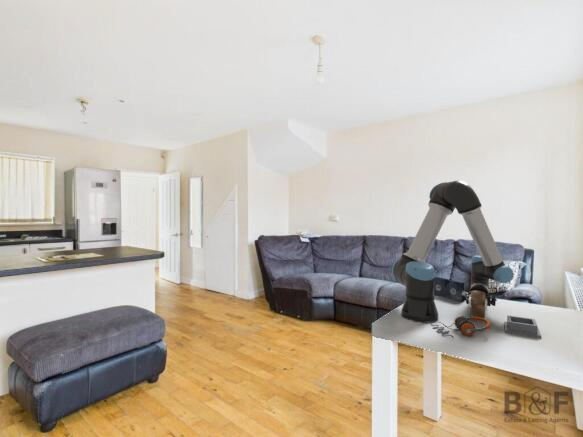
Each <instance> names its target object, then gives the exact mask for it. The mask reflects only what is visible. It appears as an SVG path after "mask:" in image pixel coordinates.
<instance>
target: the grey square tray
mask: <svg viewBox="0 0 583 437" xmlns="http://www.w3.org/2000/svg"><path fill="white" fill-rule="evenodd" d="M506 316H507V317H506V321H505V320H504V321H503V325H504V332H505V333H507V334H513V335H518V336H519V335H520V336H525V337H531V338H535V339H536V338H537V339H542V334H541V332H540V329H539V326H538V324H537V321H536V319H535V318H529V317H521V316H517V315H516V316H515V315H506Z"/></svg>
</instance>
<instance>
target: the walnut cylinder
mask: <svg viewBox="0 0 583 437" xmlns="http://www.w3.org/2000/svg"><path fill="white" fill-rule="evenodd" d="M485 315H486V309H485V292H482V291H471V307H470V317H481V318H485V317H486V316H485ZM485 319H486V318H485Z"/></svg>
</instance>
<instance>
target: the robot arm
mask: <svg viewBox="0 0 583 437" xmlns="http://www.w3.org/2000/svg"><path fill="white" fill-rule="evenodd" d="M428 197H429V201H428V204H427V205H428V208H429V209H428V211H427V213H426V215H425V216H424V219H423V220H422V223H421V225H420V226H419V228H418V231H417V233H416V235H415V236H414V238H413V240H412V242H411V244H410V246H409V248H408V250H407V252H404V253H402V255H401V256H400V259H398V260H396V261H395V262H394V263H393V265H392V267H391V274H392V277H393V279H394V280H395V281H396V282H397V283H398V284H400V285H402V286H404V287H405V300H404V301H403V304H402V307H401V316H402V317H403V318H404V319H406V320H410V321H413V322H418V323H419V322H420V323H433V322H438V320H439V310H438V309H437V306H436V302H435V295H434V277H435V276H436V273H435V268H434V266H433V265H432V264H431V263H428V262H426V259H427V257H428V254H429V253H430V251H431V249H432V248H433V247H432V246H433V244H434V242H435V241H436V239H437V237H438V236H439V233H440V231H441V229H442V227H443V225H444V223H445V221H446V219H447V217H448V216H450V215H453V213H454V211H455V209H456V211H457V214H458V215H461V216H462V218H463V220H464V222H465V225H466V228H467V230H468V232H469V234H470V236H471V238H472V240H473V243H474V245H475V247H476V250H477V251H478V252H477V253H478V255H473V256H472V257H471V269H470V270H471V271H470V272H471V276H470V289H469V291H468V292H467V291H465V290H464V291H462V301H464V302H465V304H466V305H468V307H469V308H471V291H482V292H485V311H486V310H488V307H491V306H493V307H496V306H497V305H496V303H497V296H498V295H497V294H490V293H489V291H490V280H492V281H495V282H497V283H500V284H508V283H510V282H511V281H513V278H514V270H513V269H512V268H511V267H510V266H507V265H506V264H505V262H504V259H503V258H502V255H501V254H500V251H499V249H498V246H497V244H496V242H495V240H494V237H493V235H492V232H491V229H490V228H489V226H488V223H487V221H486V219H485V217H484V214H483V212H482V209H481V208H482V206H483V205H482V203H481V201H480V199H479V197H478V195H477V193H476V191H475V190H474V189H473V188H472V186H470V184H468V183H466V182H465V181H462V180H453V181H448V182H447V181H446V182H440V183H438V184H436V185H434V186H433V187H432V189H431V190H430V192H429V196H428Z"/></svg>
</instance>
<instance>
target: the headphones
mask: <svg viewBox="0 0 583 437" xmlns="http://www.w3.org/2000/svg"><path fill="white" fill-rule="evenodd" d="M471 321H475V322H477V321H478V322H482V323H484V324H486V325H484V327H479V328H476V326H475V324H474V322H471ZM434 323H435V324H434ZM436 323H437V321H434V322H430V325H431V326H433V327H432V329H433V330H435V329H437V331H436V334H441V336H442V337H444V336H445V335H446V337H449V336H450V337H451V338H453V339H455V337H454V336H453V335H452V334H449V333H450V332H451V331H449V330H453V331H454V330H455V331H459V332H461V333H462V334H463V335H465V336H469V337H471V336H473V335H475V333H477V332H484V331H488V330H489V329H491V323H490V321H489V320H488V319H487V318H481V317H472V316H470V317H465V316H457V317H456V318H455V319H454V321H453V323H452V324H450V326H447V325H445V324H444V322H441V321H438V323H439V324H442V325H443V326H444V327H443V326H439V325H437V324H436ZM453 325H454V326H455V327H456V328H455V329H454V328H451V327H453ZM445 328H447V329H449V330H446V331H444V330H445Z"/></svg>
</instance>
